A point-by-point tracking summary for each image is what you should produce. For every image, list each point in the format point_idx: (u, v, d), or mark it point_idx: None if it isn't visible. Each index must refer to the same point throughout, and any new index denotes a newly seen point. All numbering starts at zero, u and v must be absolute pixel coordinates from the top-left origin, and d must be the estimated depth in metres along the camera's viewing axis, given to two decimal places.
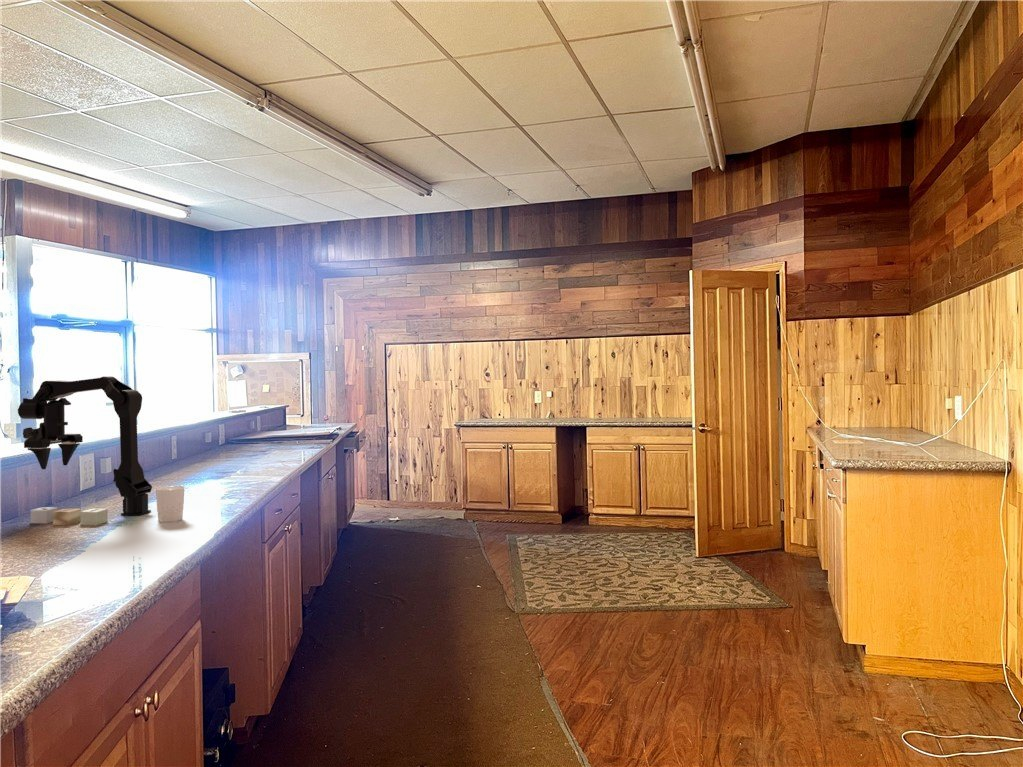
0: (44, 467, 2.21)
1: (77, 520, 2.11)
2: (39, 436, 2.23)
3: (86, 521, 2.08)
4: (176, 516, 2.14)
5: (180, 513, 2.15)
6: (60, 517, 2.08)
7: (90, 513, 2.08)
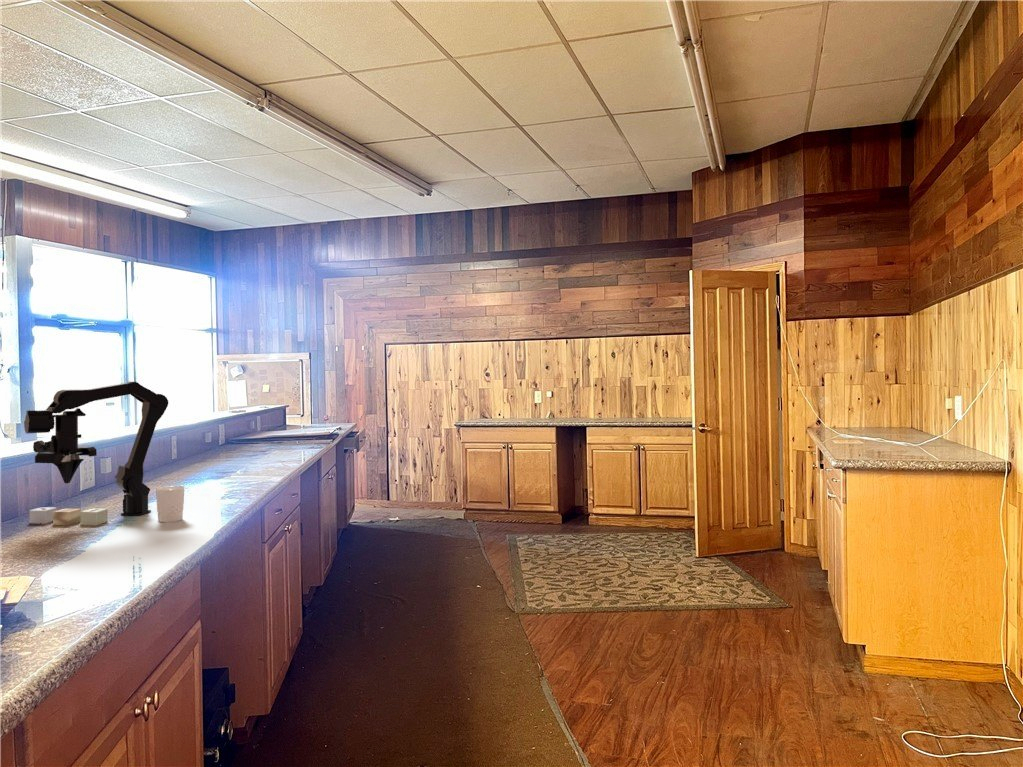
0: (67, 481, 2.10)
1: (77, 520, 2.11)
2: (51, 450, 2.07)
3: (86, 521, 2.08)
4: (176, 516, 2.14)
5: (180, 513, 2.15)
6: (60, 517, 2.08)
7: (90, 513, 2.08)
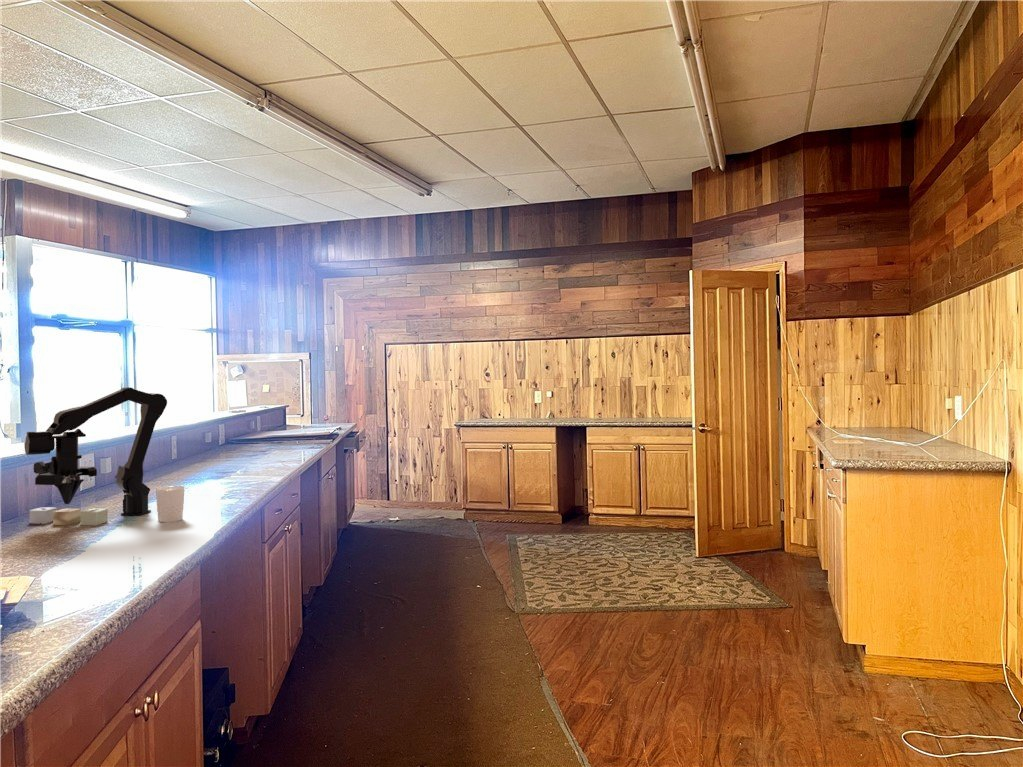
0: (67, 502, 2.10)
1: (77, 520, 2.11)
2: (51, 471, 2.08)
3: (86, 521, 2.08)
4: (176, 516, 2.14)
5: (180, 513, 2.15)
6: (60, 517, 2.08)
7: (90, 513, 2.08)
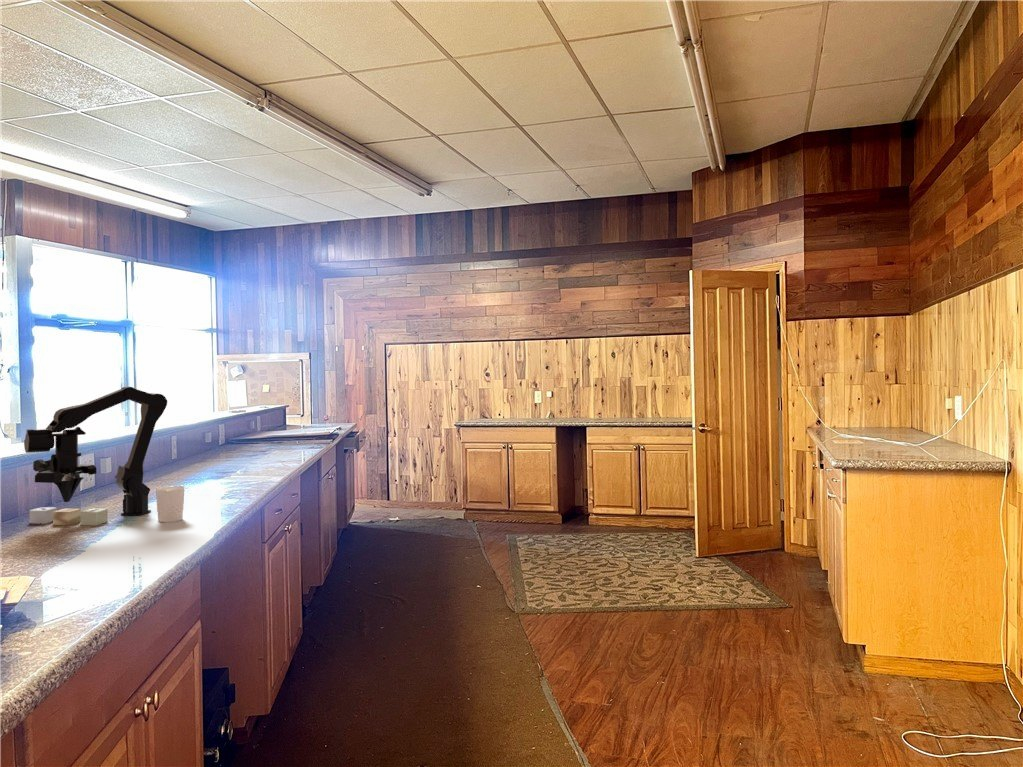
0: (67, 500, 2.10)
1: (77, 520, 2.11)
2: (50, 469, 2.08)
3: (86, 521, 2.08)
4: (176, 516, 2.14)
5: (180, 513, 2.15)
6: (60, 517, 2.08)
7: (90, 513, 2.08)
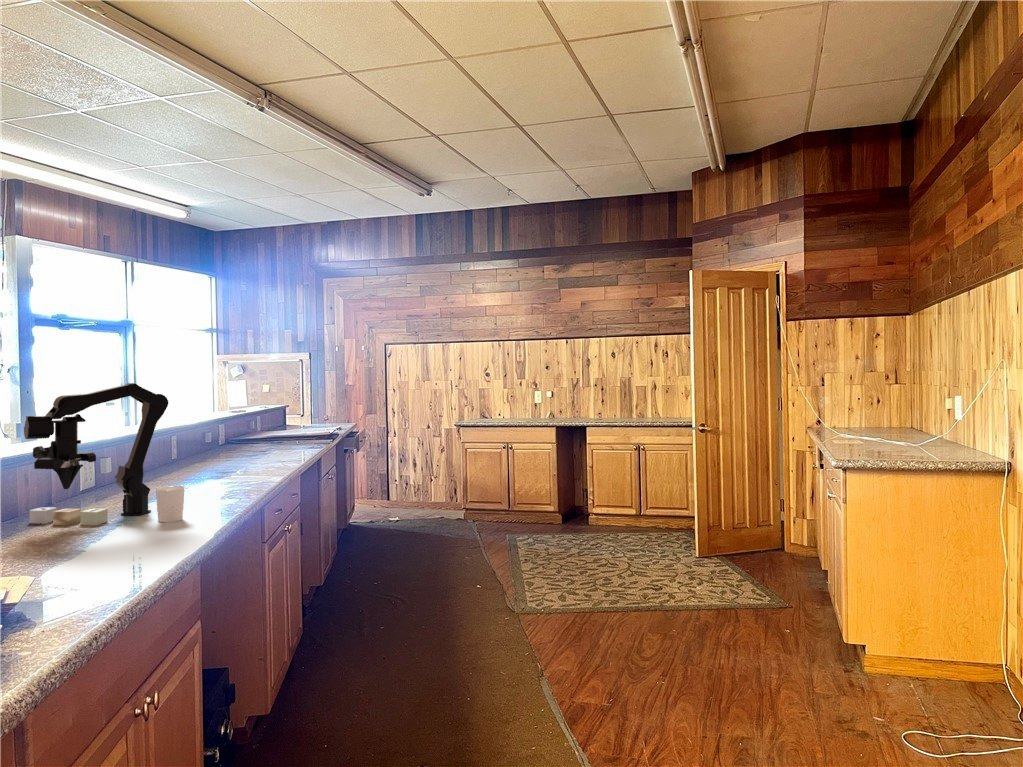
0: (66, 487, 2.10)
1: (77, 520, 2.11)
2: (50, 455, 2.07)
3: (86, 521, 2.08)
4: (176, 516, 2.14)
5: (180, 513, 2.15)
6: (59, 517, 2.08)
7: (90, 513, 2.08)
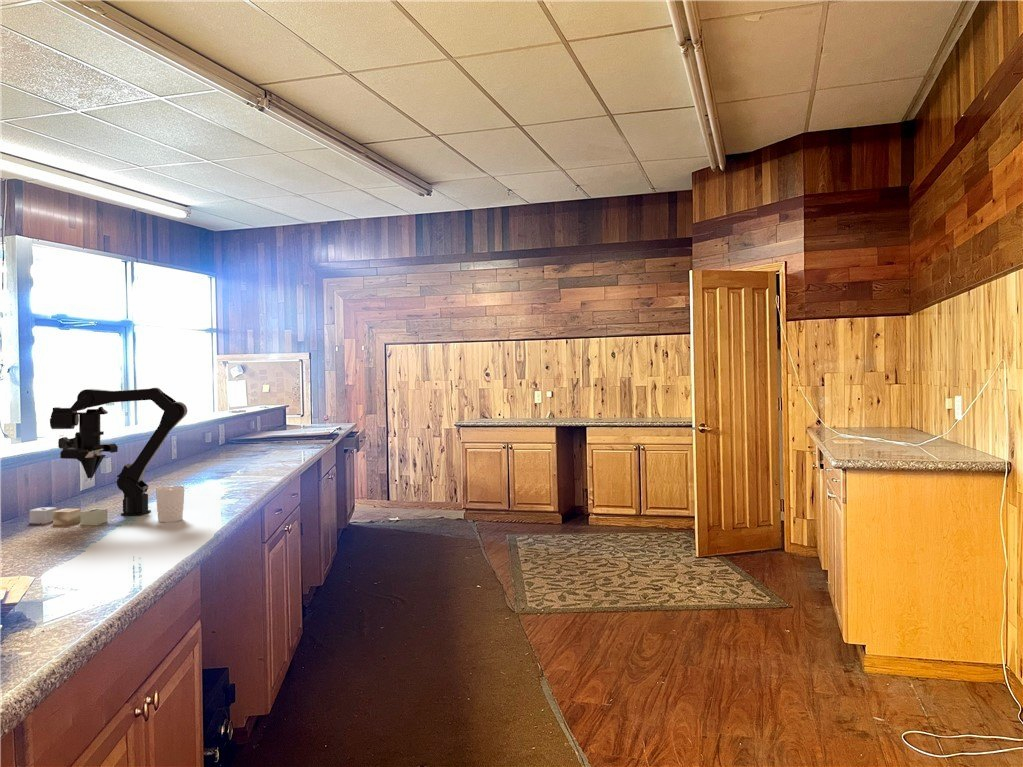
0: (90, 476, 2.20)
1: (77, 520, 2.11)
2: (75, 446, 2.17)
3: (86, 521, 2.08)
4: (176, 516, 2.14)
5: (180, 513, 2.15)
6: (59, 517, 2.08)
7: (90, 513, 2.08)
